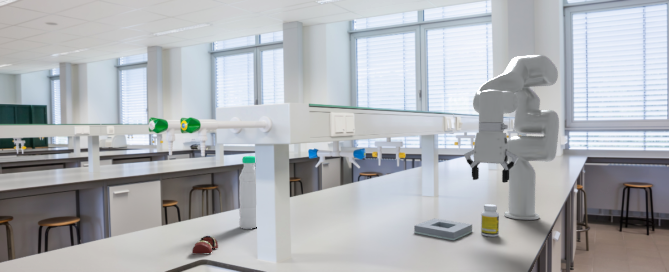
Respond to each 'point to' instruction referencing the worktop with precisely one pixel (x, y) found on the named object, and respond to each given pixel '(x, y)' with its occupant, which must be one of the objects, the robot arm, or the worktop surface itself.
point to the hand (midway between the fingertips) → (490, 180)
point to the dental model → (205, 245)
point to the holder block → (443, 229)
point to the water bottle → (247, 194)
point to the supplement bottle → (490, 221)
